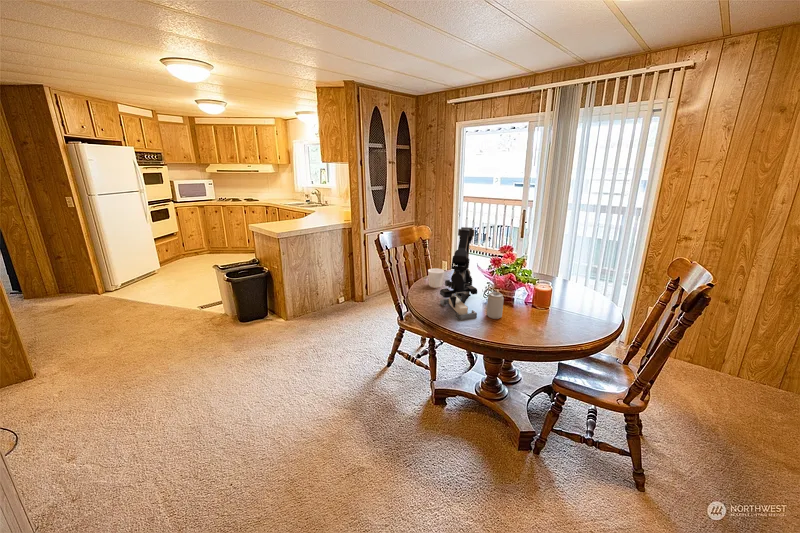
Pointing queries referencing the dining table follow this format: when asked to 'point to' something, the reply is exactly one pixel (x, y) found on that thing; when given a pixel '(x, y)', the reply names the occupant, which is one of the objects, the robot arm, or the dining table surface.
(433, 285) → the cup
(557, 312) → the dining table surface
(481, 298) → the dining table surface
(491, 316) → the can
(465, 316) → the end caps
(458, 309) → the beige wooden bar
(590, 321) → the dining table surface
